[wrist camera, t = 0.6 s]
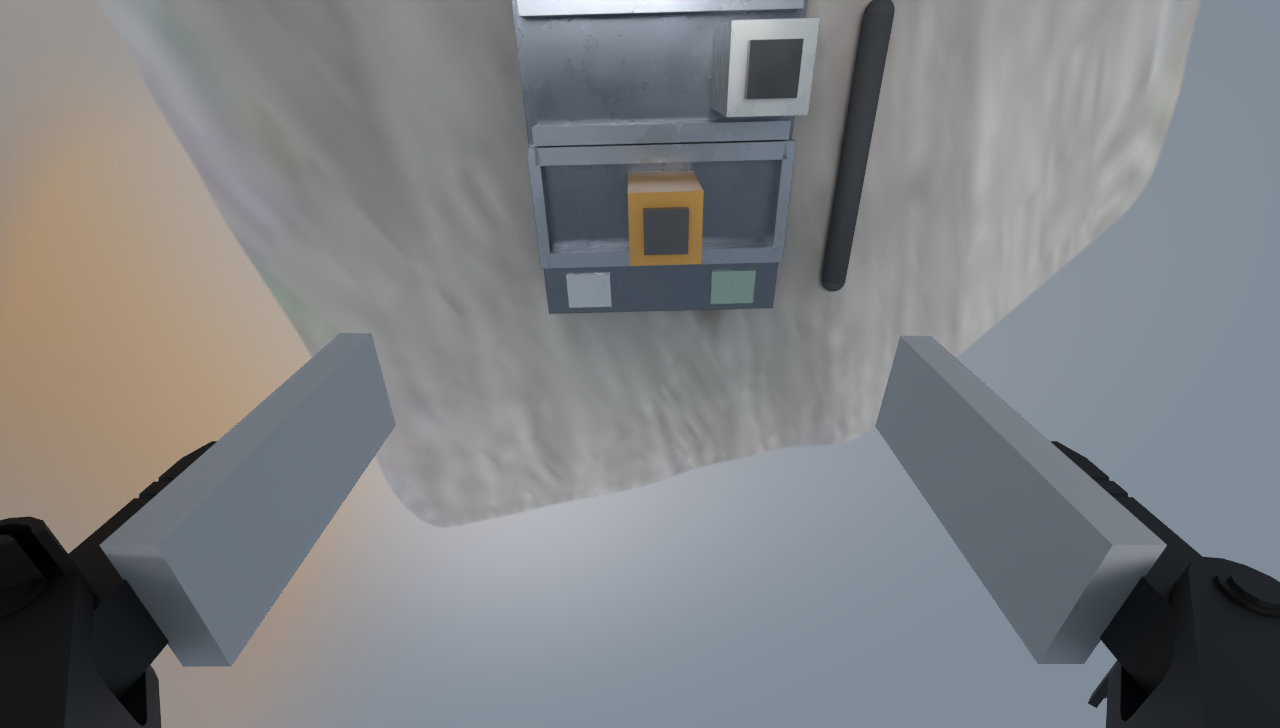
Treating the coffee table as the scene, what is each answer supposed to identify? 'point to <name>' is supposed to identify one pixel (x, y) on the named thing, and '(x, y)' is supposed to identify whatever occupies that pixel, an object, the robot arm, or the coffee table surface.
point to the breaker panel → (662, 141)
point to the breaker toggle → (665, 218)
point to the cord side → (857, 139)
